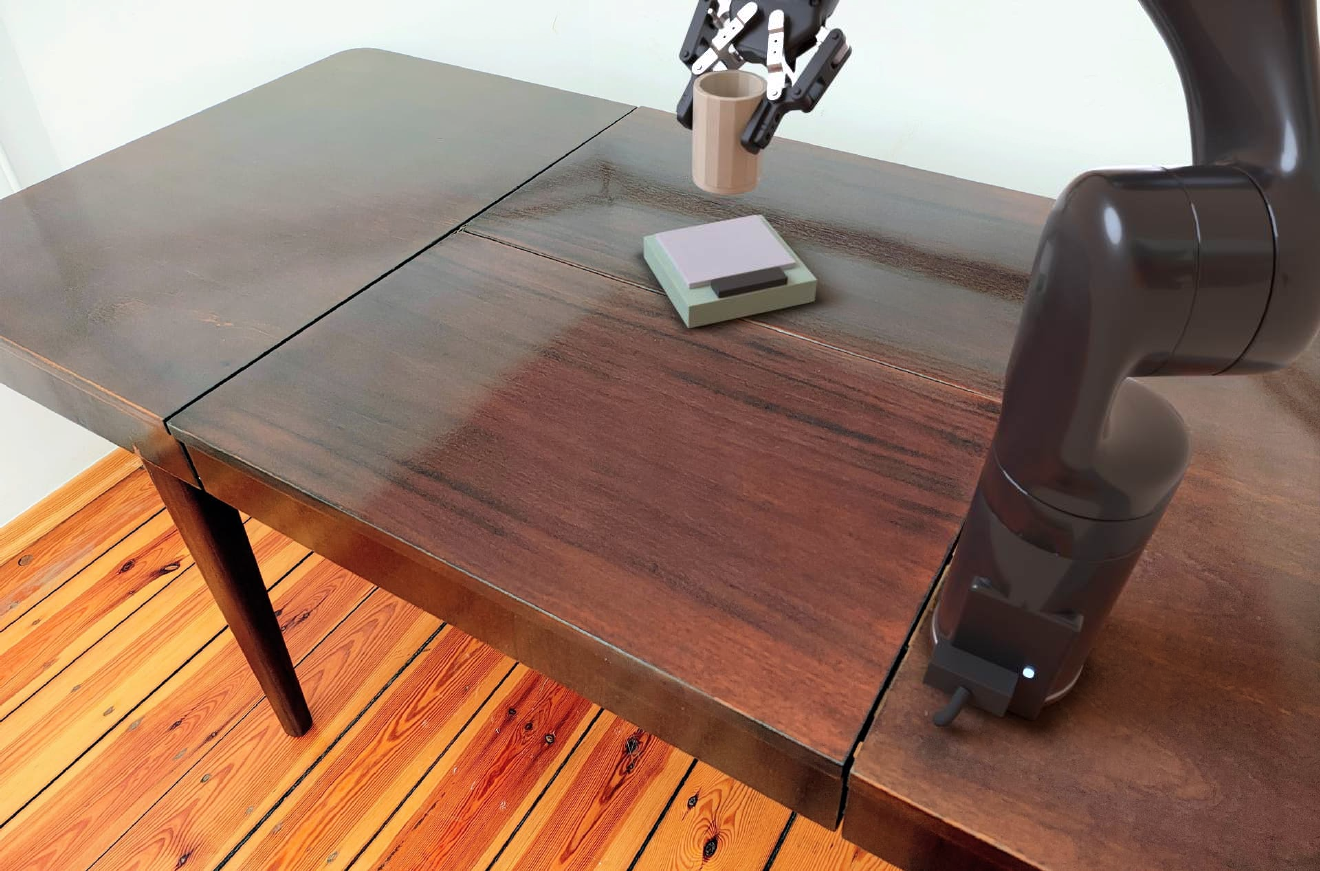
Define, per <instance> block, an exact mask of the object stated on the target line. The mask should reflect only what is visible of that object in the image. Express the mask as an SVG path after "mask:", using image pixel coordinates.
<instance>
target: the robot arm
mask: <svg viewBox="0 0 1320 871" xmlns="http://www.w3.org/2000/svg"><path fill="white" fill-rule="evenodd" d="M1135 1H1136V2H1137V3H1138V5H1139V7H1140V8H1141V9H1142V11H1143V12H1144V14H1145V16H1147V18H1148V20H1149V21H1150V23H1151V24H1152V26H1153V27H1154V29H1155V31H1156V33H1157V34H1158V35H1159V38H1160V39H1161V40H1162V42H1163V44H1164V45H1165V48H1166V51H1167V52H1168V54H1169V57H1170V58H1171V60H1172V63H1173V65H1174V68H1175V70H1176V74H1177V76H1178V79H1179V82H1180V87H1181V90H1182V91H1181V92H1182V94H1183V98H1184V102H1185V103H1184V104H1185V110H1186V116H1187V120H1188V130H1189V140H1190V150H1191V152H1190V153H1191V164H1173V165H1171V164H1170V165H1169V164H1167V165H1163V164H1162V165H1160V164H1159V165H1115V166H1102V167H1101V166H1100V167H1095V168H1091V169H1088V170H1086V171H1083V172H1081V173H1080V174H1079V175H1077V176H1075V177H1074V178H1073V179H1072V180H1070V182H1069V183H1068V184H1067V185H1066V186H1065V187H1064V188H1063V189H1062V191H1061V192H1060V194H1058V195H1059V196H1057V198H1056V200H1055V202H1054V204H1053V206H1052V207H1051V209H1050V211H1049V214H1047V218H1046V221H1045V224H1044V226H1043V229H1042V231H1041V234H1040V237H1039V241H1038V244H1037V248H1036V251H1035V255H1034V259H1033V262H1032V267H1031V272H1030V276H1029V279H1028V284H1027V289H1026V293H1025V297H1024V300H1023V301H1024V302H1023V306H1022V310H1021V314H1020V317H1019V322H1018V325H1017V329H1016V334H1015V337H1014V340H1013V344H1012V346H1011V350H1010V355H1009V357H1008V361H1007V367H1006V371H1005V377H1004V382H1003V390H1002V398H1001V405H1000V413H999V416H998V419H997V423H996V425H995V426H996V427H995V429H994V433H993V436H992V439H991V442H990V445H989V448H988V451H987V453H986V454H987V455H986V457H985V459H984V464H983V466H982V469H981V472H980V475H979V478H978V480H977V483H976V487H975V490H974V493H973V496H972V499H971V502H970V505H969V508H968V512H967V514H966V518H965V519H964V520H965V521H964V523H963V526H962V529H961V533H960V536H959V539H958V542H957V546H956V548H955V551H954V555H953V557H952V560H951V563H950V567H949V570H948V573H947V576H946V579H945V582H944V585H943V589H942V592H941V595H940V598H939V600H938V602H937V604H936V606H935V608H934V611H933V614H932V618H931V620H930V625H929V640H930V645H931V649H932V653H931V656H930V658H929V660H928V664H927V667H926V670H925V673H924V676H923V678H922V684H924V685H927V686H929V687H931V688H934V689H937V690H939V691H941V692H942V693H946V694H948V695H950V696H951V698H950V700H949V701H948V703H947V705H946V706H945V708H943V710H941V711H940V712H936V713H933V715H932V717H931V722H932V723H933V725H934V726H936V727H937V728H942V727H947V726H950V725H951V724H952V723H953V722H954V721H955V720H956V719H957V717H958V716H959V715H960V713H961V712H962V710H963V708H964V707H965V705H966V704H967V703H968V704H970V705H973V706H975V707H977V708H979V709H982V710H984V711H987V712H989V713H991V714H993V715H996V716H997V717H1000V718H1003V717H1004V716H1005V713H1006V711H1009V712H1011V713H1012V714H1013V713H1014V714H1015V715H1018V716H1020V717H1022V718H1025V719H1027V720H1030V721H1035V720H1037V718H1038V716H1039V714H1040V712H1041V710H1042V708H1045V707H1048V706H1051V705H1053V704H1055V703H1057V702H1058V701H1060V700H1062V699H1063V698H1065V697H1066V696H1067V695H1068V694H1069V692H1071V690H1072V689H1073V687H1074V686H1075V684H1076V682H1077V681H1078V679H1079V676H1080V675H1081V673H1082V670H1083V667H1084V664H1085V662H1086V660H1087V658H1088V656H1089V654H1090V652H1091V651H1092V649H1093V646H1094V645H1095V642H1096V641H1097V639H1098V637H1099V635H1100V633H1101V631H1102V630H1103V628H1104V625H1105V624H1106V622H1107V620H1108V618H1109V616H1110V615H1111V612H1113V609H1114V607H1115V605H1116V604H1117V602H1118V599H1119V598H1120V596H1121V594H1122V593H1123V590H1124V588H1125V586H1126V585H1127V583H1128V580H1129V579H1130V577H1131V576H1132V574H1133V573H1134V570H1135V568H1136V566H1137V564H1138V563H1139V561H1140V559H1141V557H1142V555H1143V553H1144V551H1145V549H1146V548H1147V545H1148V544H1149V542H1150V540H1151V539H1152V537H1153V535H1154V533H1155V532H1156V530H1157V528H1158V526H1159V524H1160V522H1161V521H1162V519H1163V517H1164V515H1165V513H1166V512H1167V509H1168V507H1169V505H1170V503H1171V502H1172V500H1173V498H1174V496H1175V495H1176V493H1177V491H1178V489H1179V487H1180V485H1181V483H1182V482H1183V480H1184V478H1185V476H1186V474H1187V471H1188V469H1189V467H1190V463H1191V460H1192V454H1193V444H1192V443H1193V442H1192V441H1193V440H1192V436H1191V434H1190V431H1189V428H1188V426H1187V424H1186V422H1185V421H1184V419H1183V417H1182V416H1181V415H1180V413H1179V411H1178V410H1177V409H1176V408H1175V407H1174V406H1173V405H1172V404H1171V403H1170V402H1169V401H1168V400H1167V399H1166V398H1164V396H1162V395H1161V394H1160V393H1158V392H1156V391H1155V390H1154V389H1152V388H1151V387H1150V386H1148V385H1147V384H1144V383H1143V382H1141V381H1139V380H1137V379H1135V378H1174V377H1175V378H1177V377H1179V378H1180V377H1183V378H1185V377H1236V376H1237V377H1239V376H1240V377H1241V376H1255V375H1257V376H1258V375H1263V374H1269V373H1270V374H1271V373H1274V372H1277V371H1280V370H1283V369H1285V368H1287V367H1288V366H1290V365H1291V364H1293V363H1294V362H1296V361H1297V360H1299V359H1301V357H1302V356H1303V355H1304V353H1305V352H1307V350H1308V349H1309V348H1310V346H1312V344H1313V342H1315V341H1316V338H1317V336H1318V334H1319V333H1320V33H1319V23H1318V0H1135ZM839 3H840V0H698V2H697V4H696V7H695V9H694V12H693V15H692V18H691V21H690V24H689V26H688V29H687V32H686V34H685V37H684V40H683V42H682V45H681V48H680V50H679V54H678V59H679V60H680V61H681V62H682V63H683V65H685V67H686V68H687V69H688V70H689V71H690V74H691V76H690V79H689V81H688V83H687V84H686V87H685V89H684V91H683V93H682V95H681V97H680V99H679V101H678V103H677V104H676V110H675V113H676V120H677V122H678V123H679V124H680V125H681V126H682V127H683V128H685V129H686V130H687V129H688V130H690V131H693V86H694V82H695V80H696V79H697V78H698V77H700V76H701V75H703V74H706V73H709V72H712V71H718V70H727V69H728V70H740V69H741V68H743V66H744V65H746V63H749V64H752V65H753V64H754V65H762V66H763V67H765V68H766V69H767V73H768V76H767V82H768V87H767V99H766V100H764V99H761V101H760V103H759V105H758V106H757V108H756V110H755V112H754V114H753V116H752V118H751V120H750V122H749V124H748V126H747V128H746V130H745V132H744V134H743V136H742V138H741V145H742V146H743V148H744V149H745V150H746V151H747V152H749V153H752V154H754V155H757V154H758V153H759V151H760V150H761V149H763V150H765V149H766V148H767V147H769V145H770V143H771V142H772V139H773V137H774V135H775V133H776V131H777V129H778V128H779V125H780V123H781V121H782V120H783V118H784V116H785V115H786V114H788V113H790V112H792V111H794V112H795V111H801V112H802V113H803V114H809V113H811V112H813V111H814V109H815V108H816V106H817V105H818V103H819V102H820V101H821V99H822V98H823V96H824V95H825V94H826V92H827V90H828V89H829V88H830V86H831V85H832V83H833V82H834V80H835V79H836V77H837V76H838V74H839V73H840V72H841V70H842V69H843V68H844V66H845V64H846V63H847V61H848V59H849V58H850V56H851V55H852V53H853V47H852V46H851V44H850V41H849V40H848V38H847V37H846V34H844V32H843V30H842V29H841V28H838V27H836V28H832V29H830V28H827V27H826V24H827V20H828V19H829V18H830V17H832V15H833V14H834V12H835V11H836V8H837V6H838V4H839ZM727 20H729V24H727V25H725V23H726V22H727ZM720 30H721V31H720ZM719 31H720V32H719ZM731 45H732V47H733V49H734V51H733V52H730V51H729V50H730V47H731ZM811 49H814V54H813V55H812V57H811V58H810V60H809V61H808V63H807V64H806V65H805V67H804V68H803V70H802V71H801V73H800V75H799V74H798V72H799V62H800V60H799V59H800V57H801V56H803V55H804V54H806V53H807V52H809V51H810V50H811ZM798 75H799V76H798Z"/></svg>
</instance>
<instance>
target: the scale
mask: <svg viewBox="0 0 1320 871" xmlns="http://www.w3.org/2000/svg"><path fill="white" fill-rule="evenodd" d="M643 258H644V261H645V262H646V263H647V265H648V266H649V269H651V272H652V273H653V274H654V276H655V278H656V280H657V281H658V283H659V284H660V286H661V287H662V289H663V290H664V292H665V294H666V295H667V297H668V298H669V300H670V302H671V303H672V305H673V306H674V308H675V309H676V311H677V312H678V314H679V316H680V317H681V319H682V321H683V322H684V324H685V325H686V327H687V328H688V329H692V328H693V329H694V328H696V327H697V328H698V327H701V326H706V325H711V324H716V323H720V322H725V321H729V320H734V319H739V318H744V317H750V316H752V315H753V316H754V315H758V314H762V313H767V312H772V311H776V310H777V311H778V310H782V309H786V308H791V307H796V306H800V305H805V304H809V303H813V302H815V300H816V292H817V284H818V279H817V277H815V275H814V274H813V273H812V272H811V270H810V269H808V267H807V265H805V264H804V263H803V261H802V260H801V259H800V258H799V256H797V254H796V253H795V252H794V251H793V249H792V248H791V247H790V246H789V245H788V244H787V243H786V240H784V239H783V238H782V237H781V235H780V234H779V233H778V232H777V231H776V229H774V227H773V226H772V225H771V224H770V223H769V221H768V220H767V219H766V218H765V217H764V215H763V214H753V215H747V216H741V217H737V218H731V219H726V220H721V221H715V222H710V223H704V224H700V225H693V226H688V227H683V228H678V229H672V230H667V231H662V232H657V233H654V234H650V235H645V236H643Z"/></svg>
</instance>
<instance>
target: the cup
mask: <svg viewBox="0 0 1320 871" xmlns="http://www.w3.org/2000/svg"><path fill="white" fill-rule="evenodd" d="M767 87H768V80H766V79H765V78H764V77H763V76H761V75H759V74H757V73H755V72H753V71H752V72H751V71H748V70H747V71H746V70H742V69H738V70H728V69H727V70H718V71H712V72H709V73H706V74H703V75H701V76H700V77H698V78H697V79H696V80H695V82H694V86H693V130H692V142H691V143H692V146H691V148H692V149H691V173H692V175H691V177H692V178H691V179H692V181H693V183H694V184H695V186H697V188H699V189H700V190H702V191H704V192H707V193H711V194H716V195H723V196H734V195H743V194H745V193H749V192H751V191H753V190H754V189H755V190H756V188H758V186H760V184H761V182H762V178H763V177H762V176H763V163H764V162H763V161H764V150H765V149H764V150H763V149H761V150H760V151H759V153H758V154H757V155H754V154H752V153H749V152H747V151H746V150H745V149H744V148H743V146H742V145H741V138H742V136H743V134H744V132H745V130H746V128H747V126H748V124H749V122H750V120H751V118H752V116H753V114H754V112H755V110H756V108H757V106H758V105H759V103H760V101H761V99H764V100H766V99H767Z"/></svg>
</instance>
